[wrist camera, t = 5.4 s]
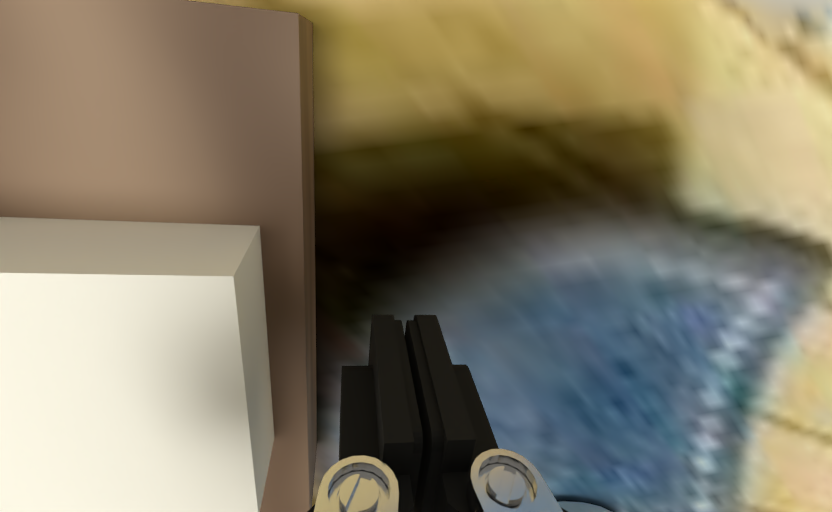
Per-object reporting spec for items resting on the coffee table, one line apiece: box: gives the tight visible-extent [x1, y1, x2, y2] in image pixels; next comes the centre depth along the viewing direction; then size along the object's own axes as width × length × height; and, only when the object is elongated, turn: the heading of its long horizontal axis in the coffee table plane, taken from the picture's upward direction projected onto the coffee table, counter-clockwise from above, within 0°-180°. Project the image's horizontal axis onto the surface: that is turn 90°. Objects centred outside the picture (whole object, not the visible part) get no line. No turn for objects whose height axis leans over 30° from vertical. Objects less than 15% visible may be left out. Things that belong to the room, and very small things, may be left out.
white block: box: [0, 217, 274, 512], centre depth 10 cm, size 9×7×2 cm
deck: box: [0, 0, 317, 512], centre depth 12 cm, size 14×16×4 cm
